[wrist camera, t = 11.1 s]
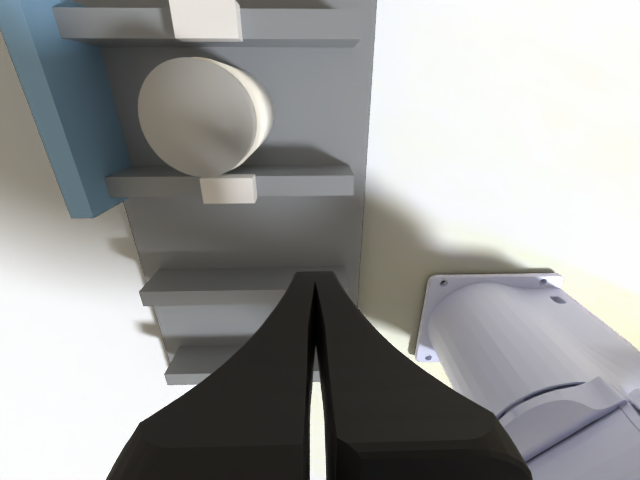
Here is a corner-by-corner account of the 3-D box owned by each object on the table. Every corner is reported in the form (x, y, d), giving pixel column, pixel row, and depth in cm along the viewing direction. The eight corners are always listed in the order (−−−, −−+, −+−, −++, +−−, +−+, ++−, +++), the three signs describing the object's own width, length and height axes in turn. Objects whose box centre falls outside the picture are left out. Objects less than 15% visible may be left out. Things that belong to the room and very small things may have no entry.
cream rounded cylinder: (271, 67, 15) (248, 52, 10) (276, 151, 17) (260, 178, 11) (188, 68, 15) (119, 54, 10) (203, 152, 17) (151, 180, 11)
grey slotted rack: (375, -41, 14) (406, -105, 10) (351, 367, 25) (360, 426, 21) (66, -44, 14) (-53, -111, 9) (180, 370, 25) (151, 431, 20)
